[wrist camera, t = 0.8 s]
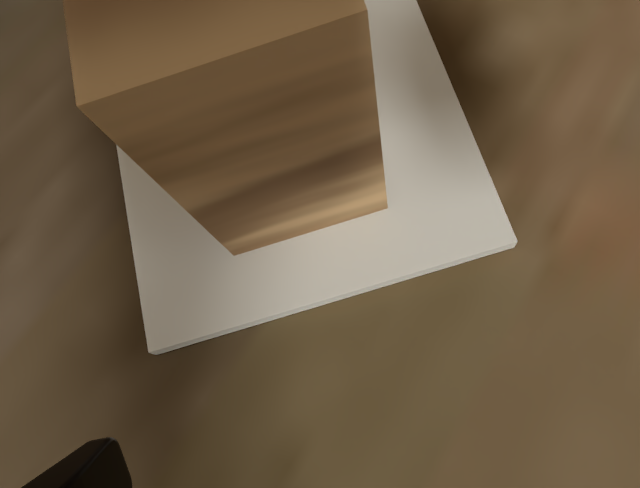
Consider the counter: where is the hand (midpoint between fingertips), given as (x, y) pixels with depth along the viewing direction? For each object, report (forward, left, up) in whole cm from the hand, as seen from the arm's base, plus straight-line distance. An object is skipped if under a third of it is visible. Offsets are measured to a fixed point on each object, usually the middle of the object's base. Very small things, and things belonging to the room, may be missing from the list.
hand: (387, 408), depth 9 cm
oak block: (+9, +6, -13) cm, 16 cm away
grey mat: (+14, +8, -13) cm, 21 cm away
